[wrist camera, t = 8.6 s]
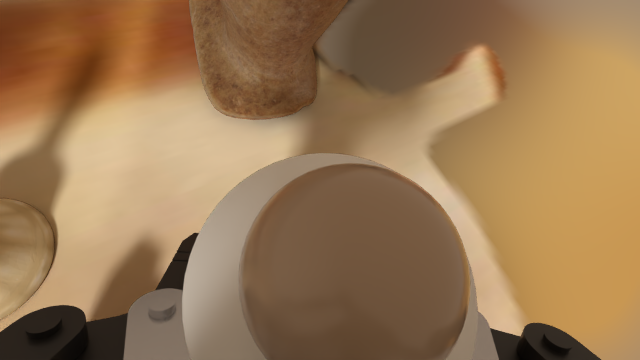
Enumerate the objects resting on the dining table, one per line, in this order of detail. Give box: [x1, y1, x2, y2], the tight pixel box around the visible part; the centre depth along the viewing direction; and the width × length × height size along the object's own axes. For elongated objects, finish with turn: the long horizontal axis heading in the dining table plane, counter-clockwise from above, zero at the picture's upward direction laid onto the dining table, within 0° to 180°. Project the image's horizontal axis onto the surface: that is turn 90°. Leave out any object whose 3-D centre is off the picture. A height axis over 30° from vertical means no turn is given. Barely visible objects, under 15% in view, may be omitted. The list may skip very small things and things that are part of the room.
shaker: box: [182, 153, 478, 360], centre depth 9 cm, size 5×5×14 cm
